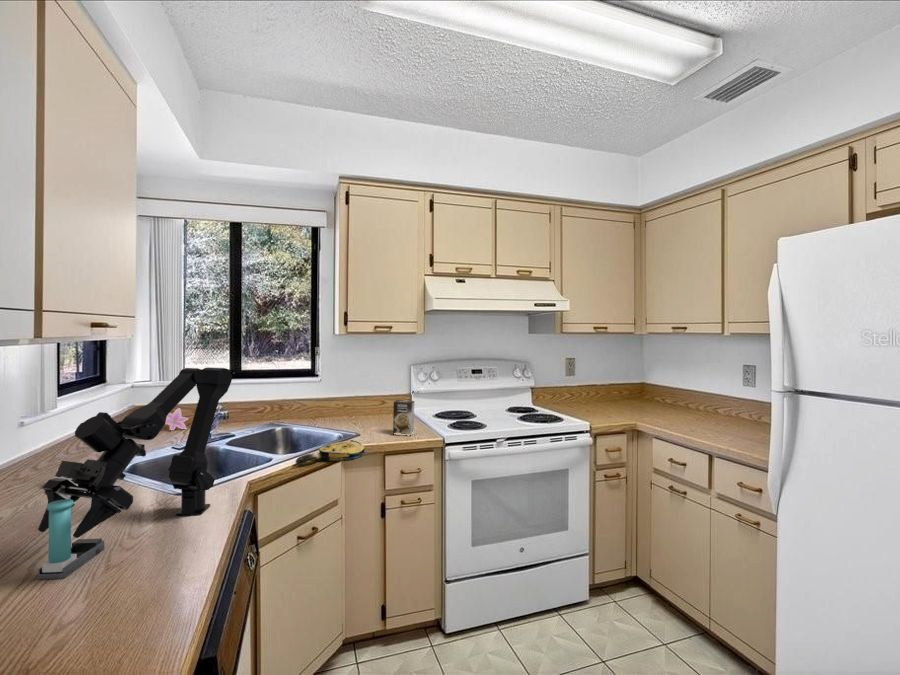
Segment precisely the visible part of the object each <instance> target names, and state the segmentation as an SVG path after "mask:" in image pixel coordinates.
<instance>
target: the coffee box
mask: <svg viewBox="0 0 900 675" xmlns="http://www.w3.org/2000/svg"><path fill="white" fill-rule="evenodd" d="M414 419H415V401H414V400H399V399H398V400H394V401H393V417H392V420H393V422H392V434H393V433H401V434H411V433H412V432H413V431H415V430H414V429H415V428H414V426H415V425H414V424H415V423H414V422H415V421H414Z"/></svg>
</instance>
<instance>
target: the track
mask: <svg viewBox="0 0 900 675" xmlns="http://www.w3.org/2000/svg"><path fill="white" fill-rule="evenodd" d="M104 550H105V540H103V538H77V540H74V541H73V542H71V554H77V559H76V560H74V561H73V562H71V563H70V564H68V565H67V566H66V567H64V568H63V572H43V573H42V566H40V567H39V568H37V580H57V579H58V580H59V579H61V580H62V579H66V578H67V577H69V576H70V575H72V574H73V573H74V572H75V571H77V570H78V569H80V568H82V566H84V565H85V564H86V563H88V562H89V561H90V560H92V559H94V557H96V556H97V555H99V554H100V553H101V552H103V551H104Z"/></svg>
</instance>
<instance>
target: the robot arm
mask: <svg viewBox="0 0 900 675" xmlns="http://www.w3.org/2000/svg"><path fill="white" fill-rule="evenodd" d="M232 379H233V375H232V374H231V371H230V370H229V369H228V368H227V367H226V368H225V367H204V368H202V369H201V368H199V367H198V368H196V367H186V368H183V369H180V372H179V374H178V375H177V376H176V377H174V379H172V381H171V382H170V383H169V384H168V385H167V386H166V387H165V388H164V389H162V391H160V393H158V394H157V395H156V396H155V397H154V398H153V399H152V400H151V401H150V402H148V403H147V404H145V405H143V406H141V407H139V408H137V409H135V410H132V412H130V413H129V414H127V415H126V416H124V418H122V420H120V421H116V420H114V418H113V417H112V416H111V415H110V414H109V413H108V412H105V411H103V412H102V411H101V412H98V413H97V414H96V415H95V416H92V417H90V418H88V419H86V420H85V421H83V422H81V423H80V424H78V426H77V427H76V429H75V431H74V436H75V437H76V438H77V439H78V440H79V441H81V442H82V443H84V445H86V446H87V447H89V449H91V450H93V451H94V452H95V453H101V455H100V456H99V457H98V458H97V459H89V458H88V459H86V460H85V462H84V463H83V462H77V461H68V460H67V461H66V460H62V461H61V462H60V464H59V466H58V468H57V469H58V470H57V469H56V470H57V473H56V472H55V474H54V477H53V478H51V479H48V480H47V482H46V483H45V484H44V485H42V487H41V489H42V490H44V495H45V496H46V497H47V504H49V503H51V502H54V501H58V500H64V499H71V500H73V506H71V509H72V508H73V507H75V504H74V503H75V502H77V501H78V500H79V499H80V498H85V499H91V502H90V508H89V510H87V513H86V514H85V516H84V517H83V518H82V520H81V521H80V522H79V524H78V526H77V527H76V529H75V531H74V533H73V534H72V536H73V537H74V538H76V539H80V537H81V536H83V535H85V534H86V533H88V532H89V531H91V530H93V528H95V527H97V526H98V525H100V524H102V523H103V522H104V521H106V520H108V519H109V518H111V517H113V516H115V515H117V514H121V513H122V511H128V510H129V509H130V507H131V506H132V504H133V503H134V496H133V494H130V492H129V491H127V490H125V489H124V488H123V487H122V486H120V485H115V483H116V482H117V481H118V480H124V479H125V478H126V474H125V473H124V471H126V469H127V468H128V466H129V464H131V462H132V461H133V460H134V459H135V457H136V456H137V457H146V456H147V451H146V449H145V444H142V443H137V442H136V441H135V440H138V441H139V440H140V441H151V440H153V439H155V438H156V437H157V436H158V435H159V434H160V433H161V431H162V429H163V428H164V427H165V425H166V424H165V423H166V418H167V415H168V414H169V413H171V412H172V411H173V410H174V408H176V406H177V405H179V404H180V403H181V401H182V400H183V399H184V398H185V397H186V396H187V395H188V394H189V393H190V392H191V391H192V390H193V389H194V387H196V390H197V394H198V396H199V398H198V401H197V404H196V407H195V412H194V415H193V419H192V422H191V425H190V427H189V428H190V429H189V432H188V435H187V438H186V441H185V446H184V449H183V450H181V452H180V453H179V454H173V456H172V458H171V463H170V466H169V467H168V469H167V471H168V472H169V473H168V478H169V480H170V482H171V484H172V486H173V489H174V490H180V491H181V492H180V494H181V496H180V497H181V503H180V504H181V505H180V506H181V508H180V509H179V510H178V511H176V512H175V516H197V515H198V516H200V515H202V514H203V513H204V512H205V511H206V510H208V509H209V508H210V507H211V503H206V495H207V494H206V493H207V492H206V491H208V490H210V489H211V488H213V487H214V484H215V480H216V479H215V478H214V477H213V475H211V474H210V473H209V472H208V471H207V470H208V459H207V456H206V453H205V452H206V449H207V446H208V445H207V444H208V442H209V437H210V433H211V430H212V427H213V422H214V419H215V415H216V412H217V408H218V404H219V401H220V400H221V399H222V398H223V397H224V396H225V395H226V394H227V393H228V391H229V388H230V386H231V384H232V382H233V380H232ZM61 476H62V477H65V478H71V479H72V480H71V481H72V482H74V483H75V484H78V486H76V485H75V484H73V483H72V482H70V481H69V480H67V479H60V478H58V477H61ZM41 518H42V519H41V520H40V523H39V526H38V528H37V530H38V531H39V532H41V533H44V532H45V531H47V530H49V510H47V506H46V508H45V511H44V514H43V516H42V517H41Z"/></svg>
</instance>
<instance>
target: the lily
mask: <svg viewBox="0 0 900 675" xmlns="http://www.w3.org/2000/svg"><path fill="white" fill-rule="evenodd" d="M188 420H189V417H184V416H182V410H181V408H180V407H178V408H177V409H175V411H173V412H172V413H171V412H170V413H169V414H168V415H167V417H166V423H165V425H168V426H169V431H170V430H173V431H175V429H176V428H179V429H181V430H183V429H186V430H187V426H186V424H185V422H186V421H188Z"/></svg>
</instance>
